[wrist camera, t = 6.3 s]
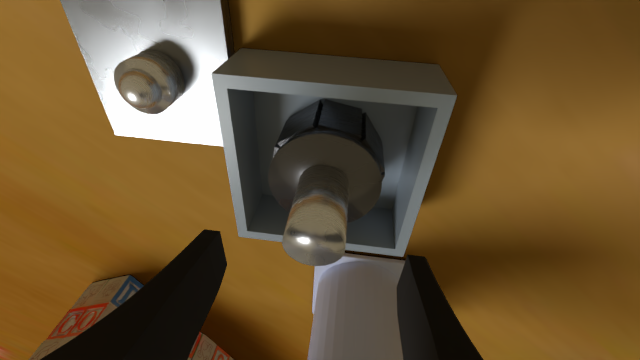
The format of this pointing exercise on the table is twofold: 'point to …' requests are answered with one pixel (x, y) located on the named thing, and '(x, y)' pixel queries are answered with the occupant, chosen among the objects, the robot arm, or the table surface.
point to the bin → (319, 84)
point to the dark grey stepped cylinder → (325, 178)
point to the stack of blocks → (99, 304)
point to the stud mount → (155, 63)
